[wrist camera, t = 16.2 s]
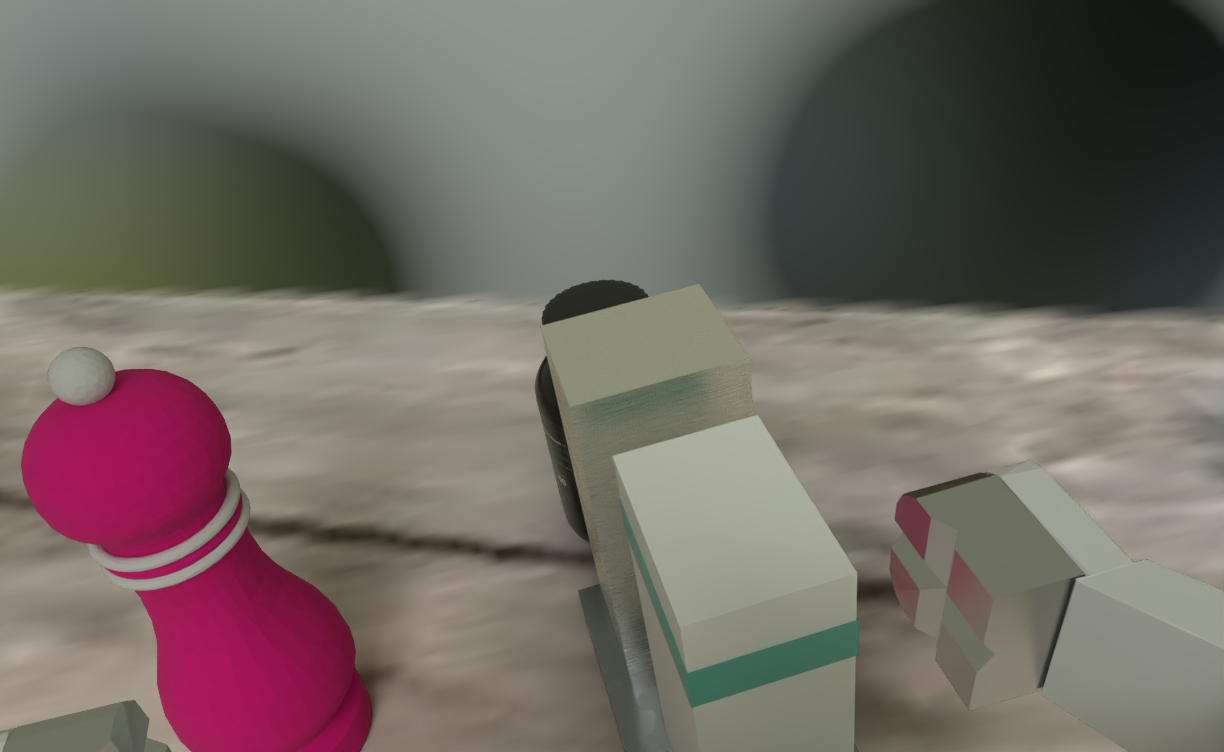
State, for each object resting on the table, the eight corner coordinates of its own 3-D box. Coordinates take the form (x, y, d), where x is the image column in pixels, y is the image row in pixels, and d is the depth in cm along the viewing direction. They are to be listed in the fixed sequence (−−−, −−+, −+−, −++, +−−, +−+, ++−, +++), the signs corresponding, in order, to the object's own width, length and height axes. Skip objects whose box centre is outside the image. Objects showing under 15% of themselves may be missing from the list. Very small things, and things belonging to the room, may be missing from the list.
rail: (1040, 1127, 26) (1153, 854, 17) (769, 1234, 25) (728, 1009, 16) (748, 561, 43) (724, 277, 34) (583, 612, 42) (512, 333, 33)
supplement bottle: (548, 487, 49) (499, 296, 42) (665, 443, 51) (638, 251, 44) (592, 575, 44) (545, 374, 37) (722, 523, 45) (700, 320, 38)
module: (853, 855, 31) (860, 573, 22) (722, 900, 30) (678, 629, 22) (776, 691, 36) (758, 413, 28) (663, 727, 35) (610, 455, 27)
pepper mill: (398, 654, 42) (225, 275, 30) (364, 811, 36) (132, 417, 24) (245, 668, 43) (16, 301, 31) (187, 824, 37) (-123, 446, 25)
